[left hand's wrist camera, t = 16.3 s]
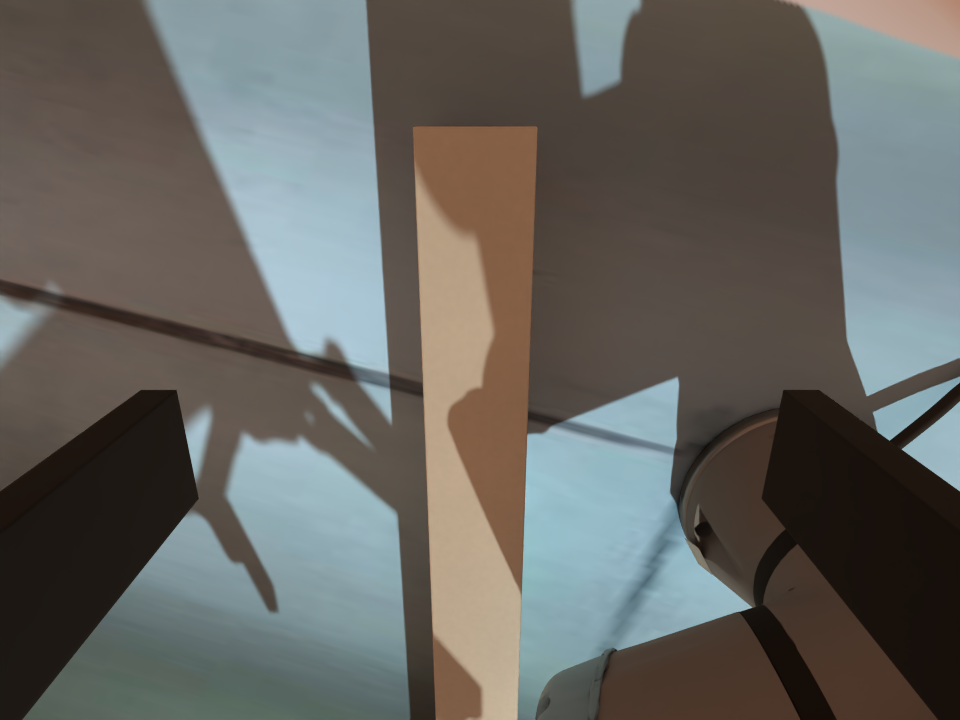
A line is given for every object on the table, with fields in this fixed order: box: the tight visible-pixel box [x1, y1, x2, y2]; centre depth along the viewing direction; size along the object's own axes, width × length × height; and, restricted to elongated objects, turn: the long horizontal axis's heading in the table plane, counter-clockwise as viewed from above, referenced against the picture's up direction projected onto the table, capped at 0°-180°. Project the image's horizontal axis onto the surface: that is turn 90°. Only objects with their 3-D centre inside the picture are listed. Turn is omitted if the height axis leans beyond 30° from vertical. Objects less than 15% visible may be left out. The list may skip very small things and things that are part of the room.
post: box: [413, 126, 538, 720], centre depth 44 cm, size 76×6×8 cm, turn 0°
